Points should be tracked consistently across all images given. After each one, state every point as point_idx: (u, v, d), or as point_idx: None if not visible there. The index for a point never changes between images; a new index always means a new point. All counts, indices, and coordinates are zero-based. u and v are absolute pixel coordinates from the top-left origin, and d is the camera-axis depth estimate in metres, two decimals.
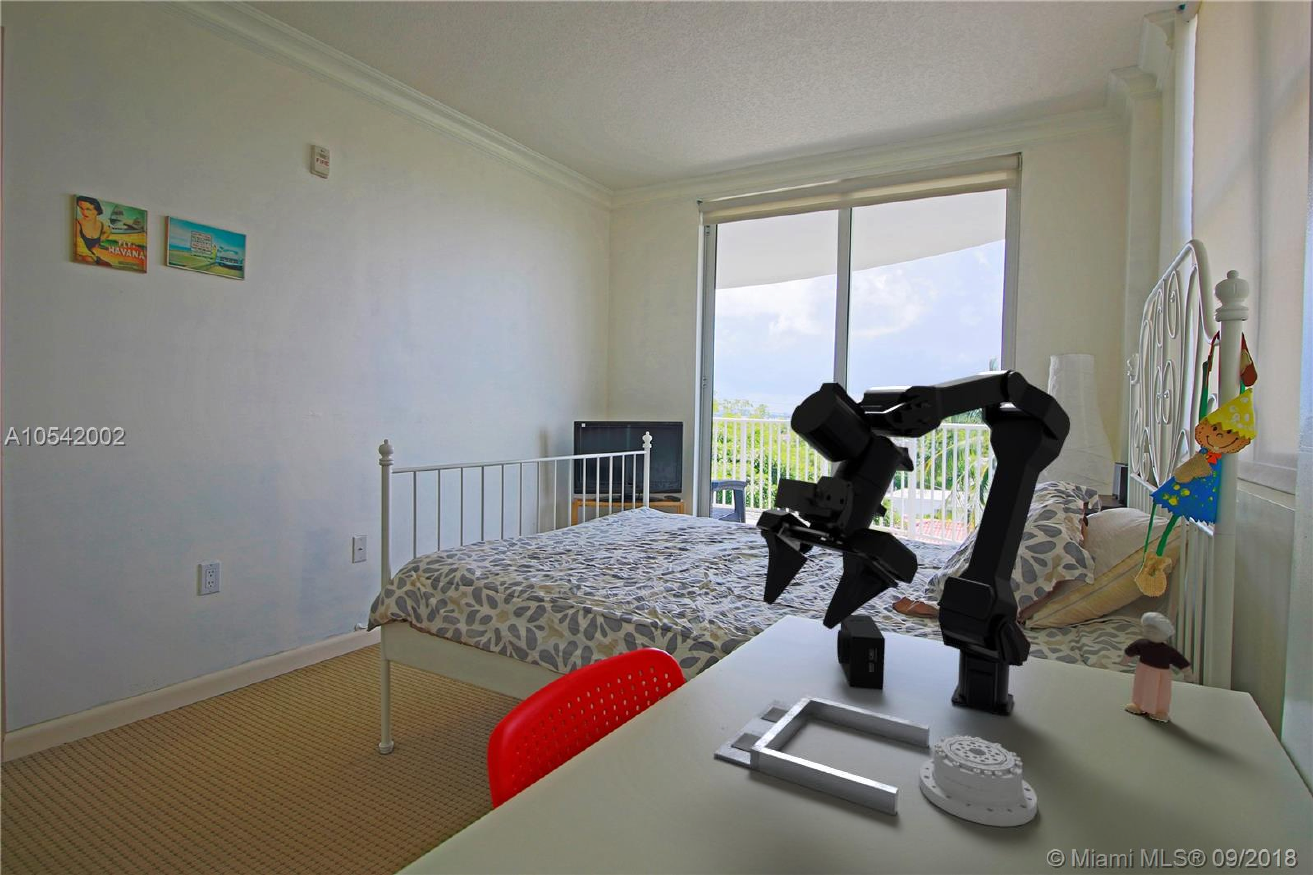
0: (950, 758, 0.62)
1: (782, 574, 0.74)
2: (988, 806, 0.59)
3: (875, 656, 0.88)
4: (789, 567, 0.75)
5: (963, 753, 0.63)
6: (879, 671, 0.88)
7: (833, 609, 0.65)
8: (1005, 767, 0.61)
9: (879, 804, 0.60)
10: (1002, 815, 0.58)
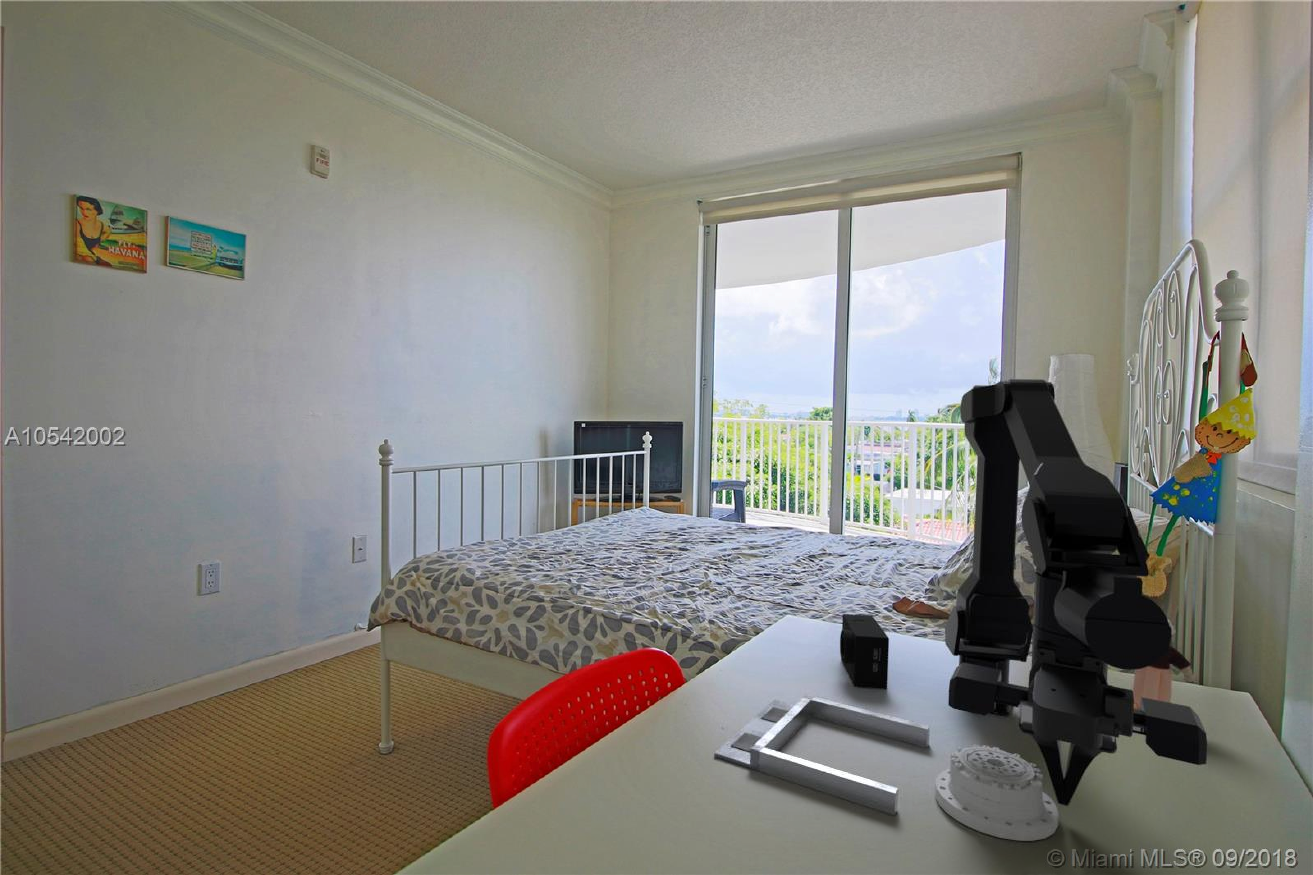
0: (967, 769, 0.60)
1: (1061, 761, 0.60)
2: (1007, 819, 0.57)
3: (879, 656, 0.88)
4: (1059, 745, 0.60)
5: (981, 764, 0.61)
6: (883, 671, 0.88)
7: (1074, 791, 0.58)
8: (1025, 779, 0.58)
9: (879, 804, 0.60)
10: (1021, 829, 0.56)
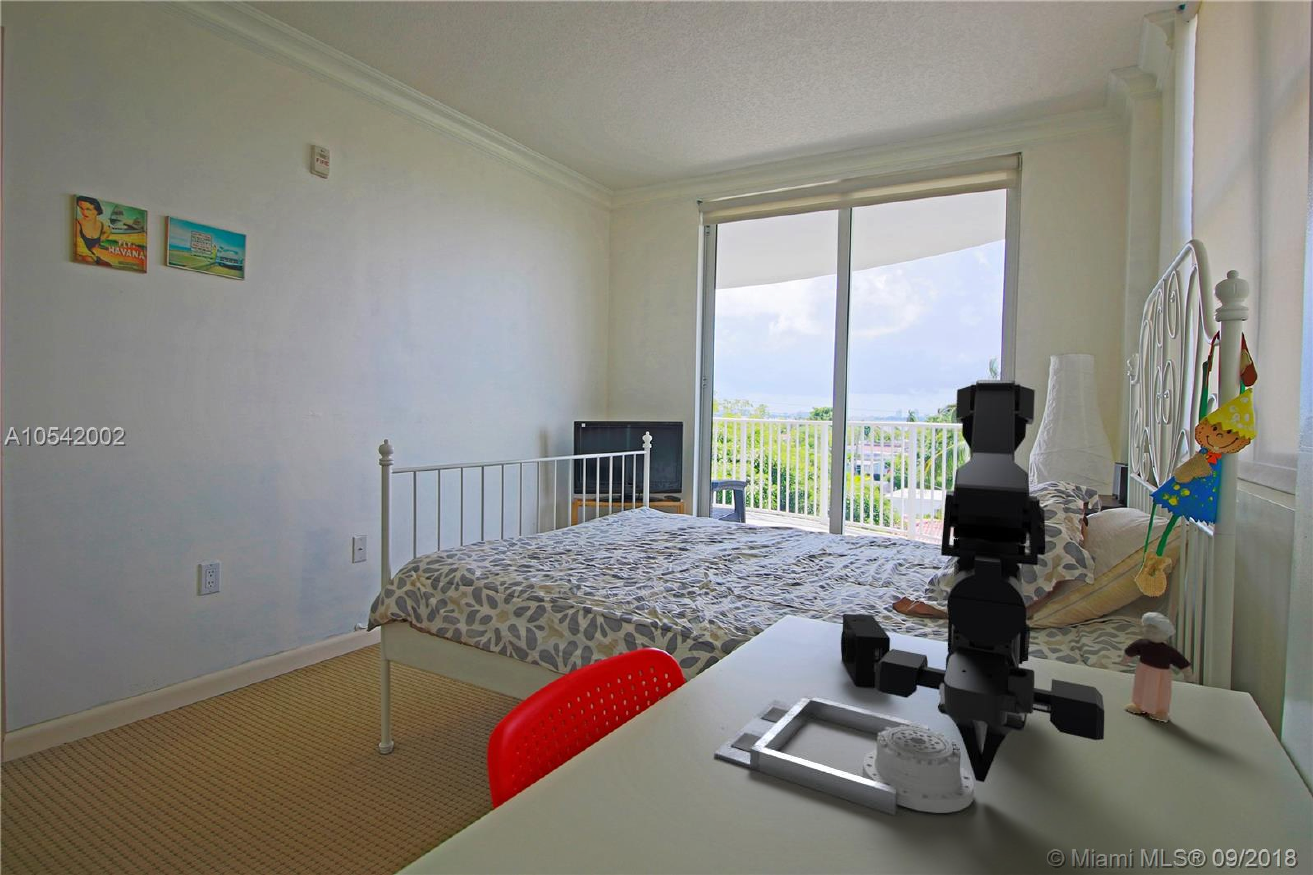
0: (890, 747, 0.64)
1: (979, 740, 0.63)
2: (924, 793, 0.61)
3: (880, 656, 0.88)
4: (978, 725, 0.64)
5: (903, 742, 0.64)
6: None
7: (989, 768, 0.62)
8: (942, 755, 0.62)
9: (879, 804, 0.60)
10: (936, 802, 0.60)
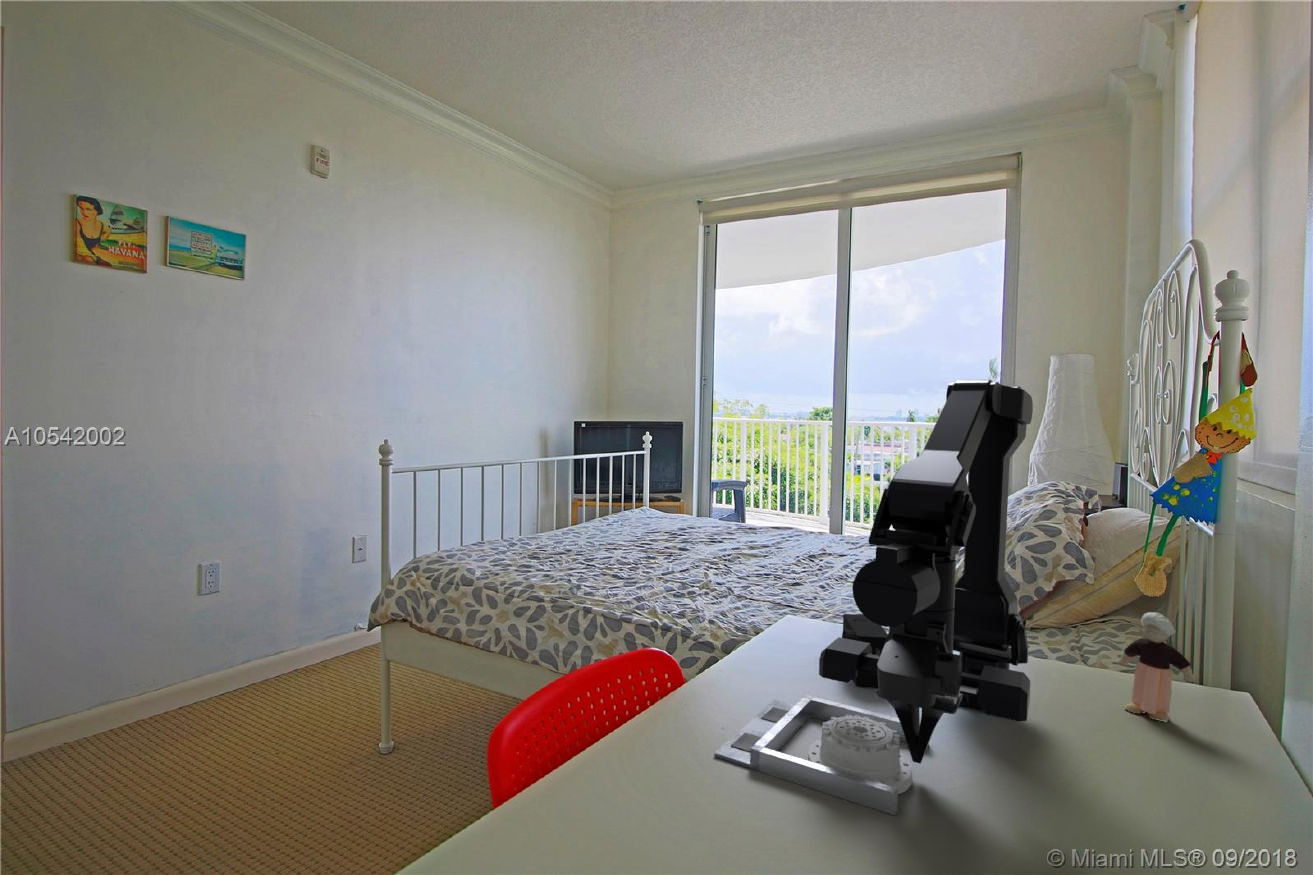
0: (833, 735, 0.66)
1: (916, 723, 0.66)
2: None
3: None
4: (916, 709, 0.67)
5: (846, 730, 0.67)
6: None
7: (924, 749, 0.65)
8: (881, 743, 0.64)
9: (879, 804, 0.60)
10: None
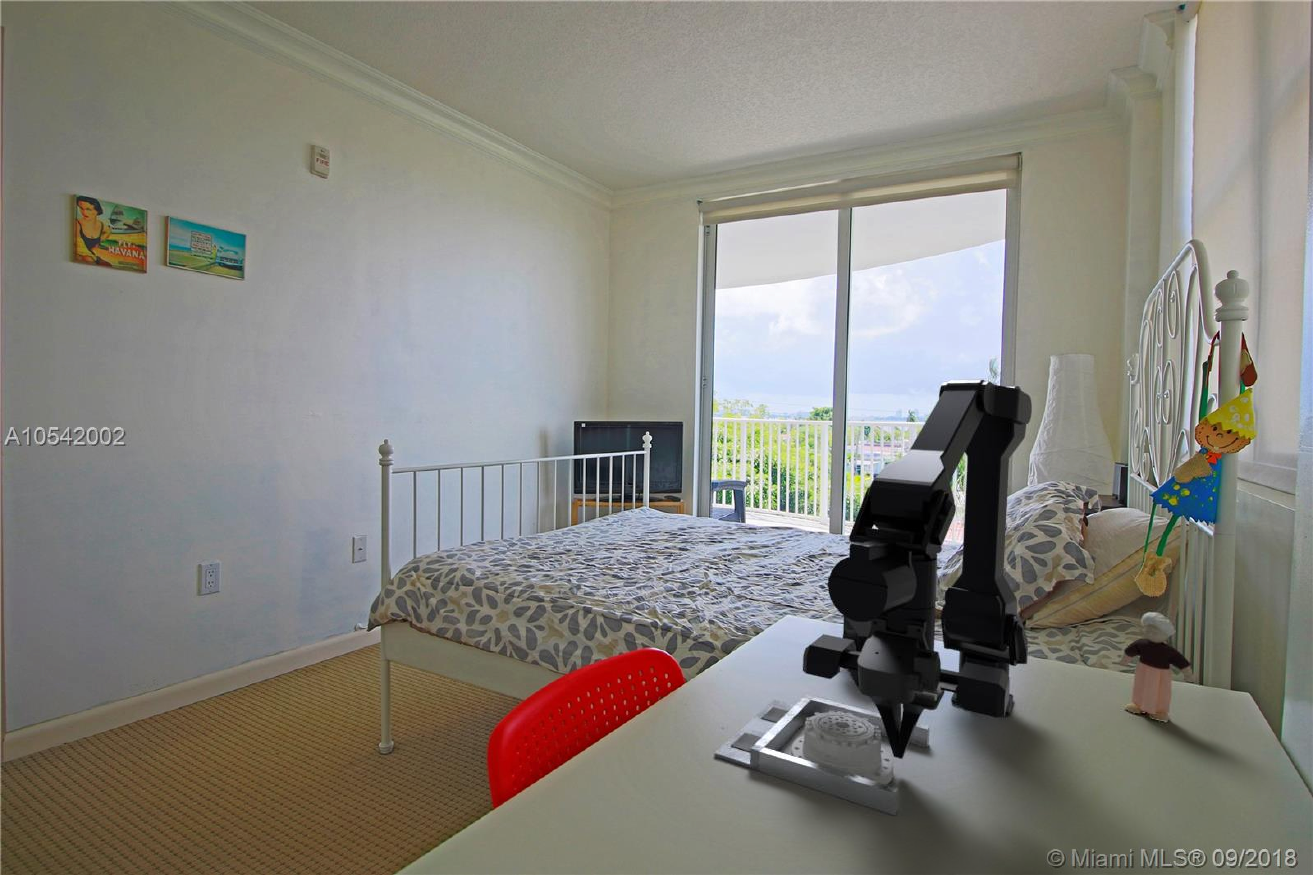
0: (815, 730, 0.67)
1: (897, 719, 0.67)
2: None
3: None
4: (897, 705, 0.68)
5: (828, 726, 0.68)
6: None
7: (906, 745, 0.66)
8: (862, 738, 0.65)
9: (879, 804, 0.60)
10: None
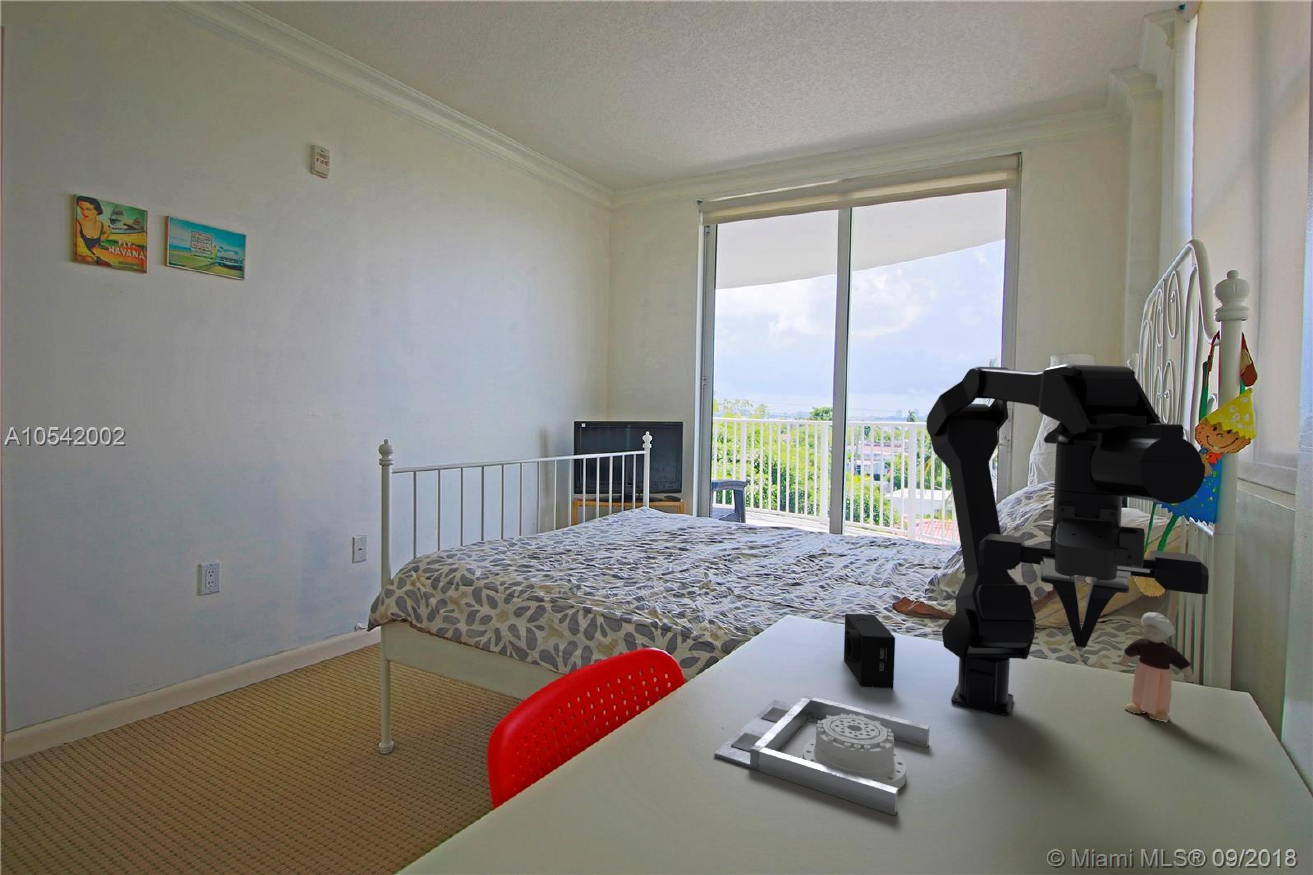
0: (827, 733, 0.66)
1: None
2: None
3: (885, 655, 0.89)
4: (1077, 596, 0.68)
5: (840, 729, 0.67)
6: (889, 670, 0.88)
7: (1091, 633, 0.66)
8: (875, 741, 0.65)
9: (879, 804, 0.60)
10: None
